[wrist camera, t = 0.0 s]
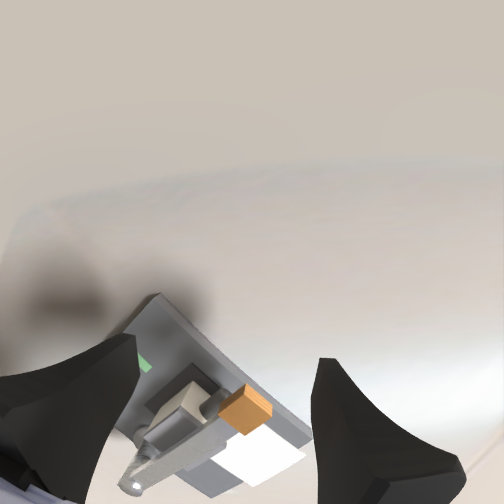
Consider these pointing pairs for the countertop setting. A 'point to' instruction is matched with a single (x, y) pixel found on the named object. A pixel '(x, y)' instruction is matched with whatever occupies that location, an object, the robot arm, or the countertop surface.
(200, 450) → the orange-tipped grey rod
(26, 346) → the countertop surface
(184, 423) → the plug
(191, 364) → the grey flat board
